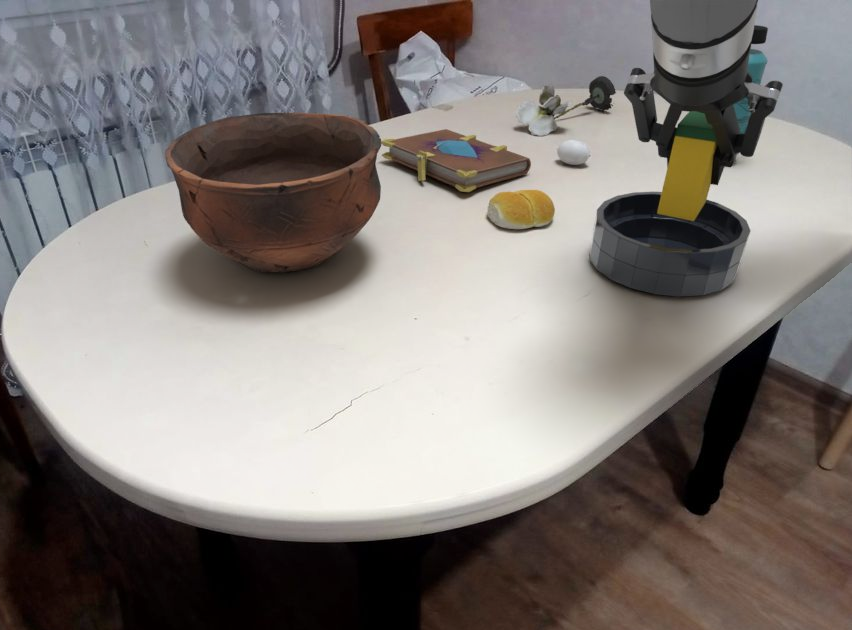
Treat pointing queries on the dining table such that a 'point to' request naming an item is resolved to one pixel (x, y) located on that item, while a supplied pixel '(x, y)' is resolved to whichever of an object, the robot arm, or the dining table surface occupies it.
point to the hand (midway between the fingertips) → (696, 170)
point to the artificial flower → (561, 106)
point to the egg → (573, 152)
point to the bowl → (277, 185)
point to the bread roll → (521, 209)
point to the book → (456, 159)
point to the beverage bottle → (756, 70)
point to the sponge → (689, 168)
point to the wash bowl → (667, 246)
